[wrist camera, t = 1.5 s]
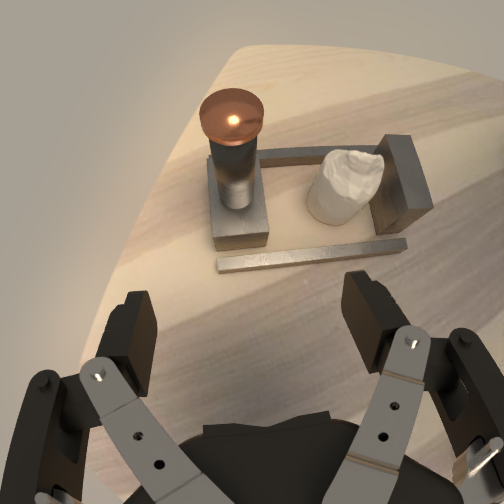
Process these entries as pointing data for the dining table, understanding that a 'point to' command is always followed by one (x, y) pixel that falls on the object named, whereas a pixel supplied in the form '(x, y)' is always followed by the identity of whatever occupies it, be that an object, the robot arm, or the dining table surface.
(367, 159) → the white tapered sculpture
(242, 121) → the handle
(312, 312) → the dining table surface
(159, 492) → the robot arm
